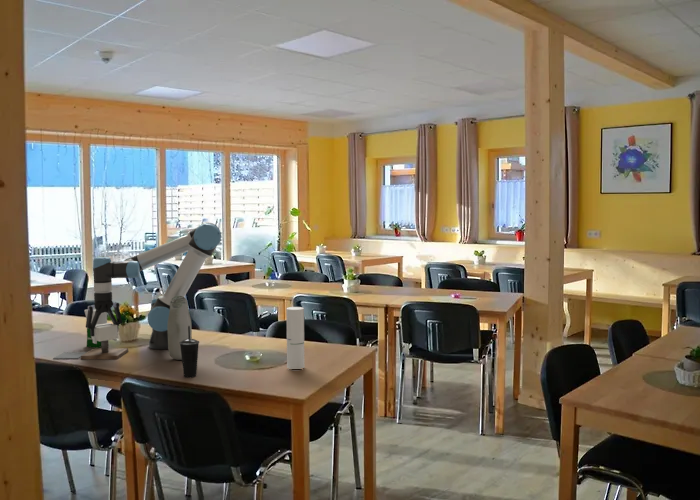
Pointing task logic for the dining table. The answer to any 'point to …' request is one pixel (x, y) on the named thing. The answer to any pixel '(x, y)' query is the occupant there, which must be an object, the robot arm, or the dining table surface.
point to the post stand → (105, 352)
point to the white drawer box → (106, 331)
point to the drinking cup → (189, 356)
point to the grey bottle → (178, 325)
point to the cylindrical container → (295, 337)
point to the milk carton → (101, 320)
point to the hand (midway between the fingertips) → (104, 341)
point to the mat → (70, 355)
